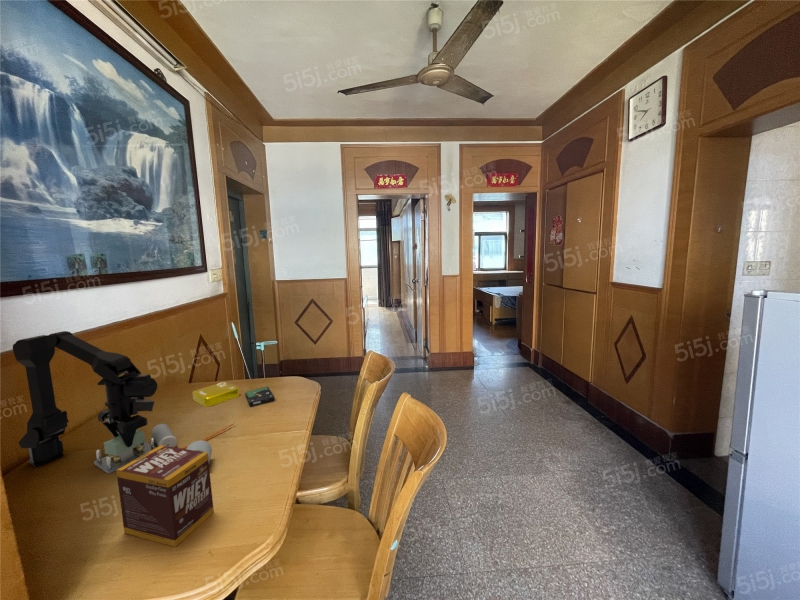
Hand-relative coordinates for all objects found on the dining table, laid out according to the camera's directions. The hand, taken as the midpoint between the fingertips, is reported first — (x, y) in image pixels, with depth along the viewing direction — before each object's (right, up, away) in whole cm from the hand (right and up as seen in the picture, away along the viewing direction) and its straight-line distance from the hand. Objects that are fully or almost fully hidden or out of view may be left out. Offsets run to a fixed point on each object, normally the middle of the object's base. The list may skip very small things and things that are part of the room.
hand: (125, 444), depth 103 cm
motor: (+12, -3, +16) cm, 20 cm away
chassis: (0, -4, 0) cm, 5 cm away
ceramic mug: (+26, -5, -7) cm, 27 cm away
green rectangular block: (0, -1, 0) cm, 1 cm away
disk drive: (+24, +1, +44) cm, 50 cm away
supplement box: (+33, -7, -27) cm, 43 cm away
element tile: (+3, 0, +46) cm, 46 cm away
